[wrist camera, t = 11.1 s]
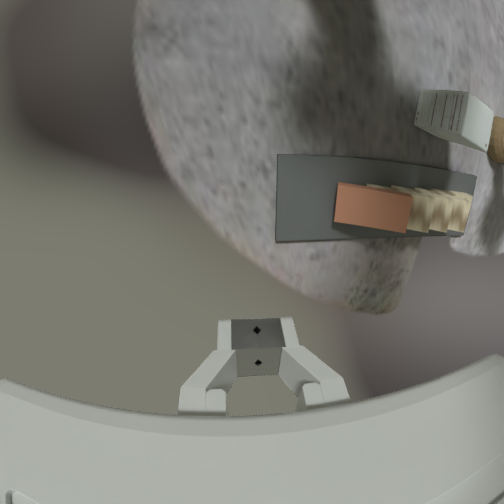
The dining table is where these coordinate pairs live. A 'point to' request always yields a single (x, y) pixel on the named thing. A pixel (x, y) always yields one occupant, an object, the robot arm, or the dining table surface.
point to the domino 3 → (437, 209)
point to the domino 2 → (416, 209)
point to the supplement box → (455, 117)
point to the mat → (353, 172)
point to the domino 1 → (372, 207)
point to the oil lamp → (497, 140)
